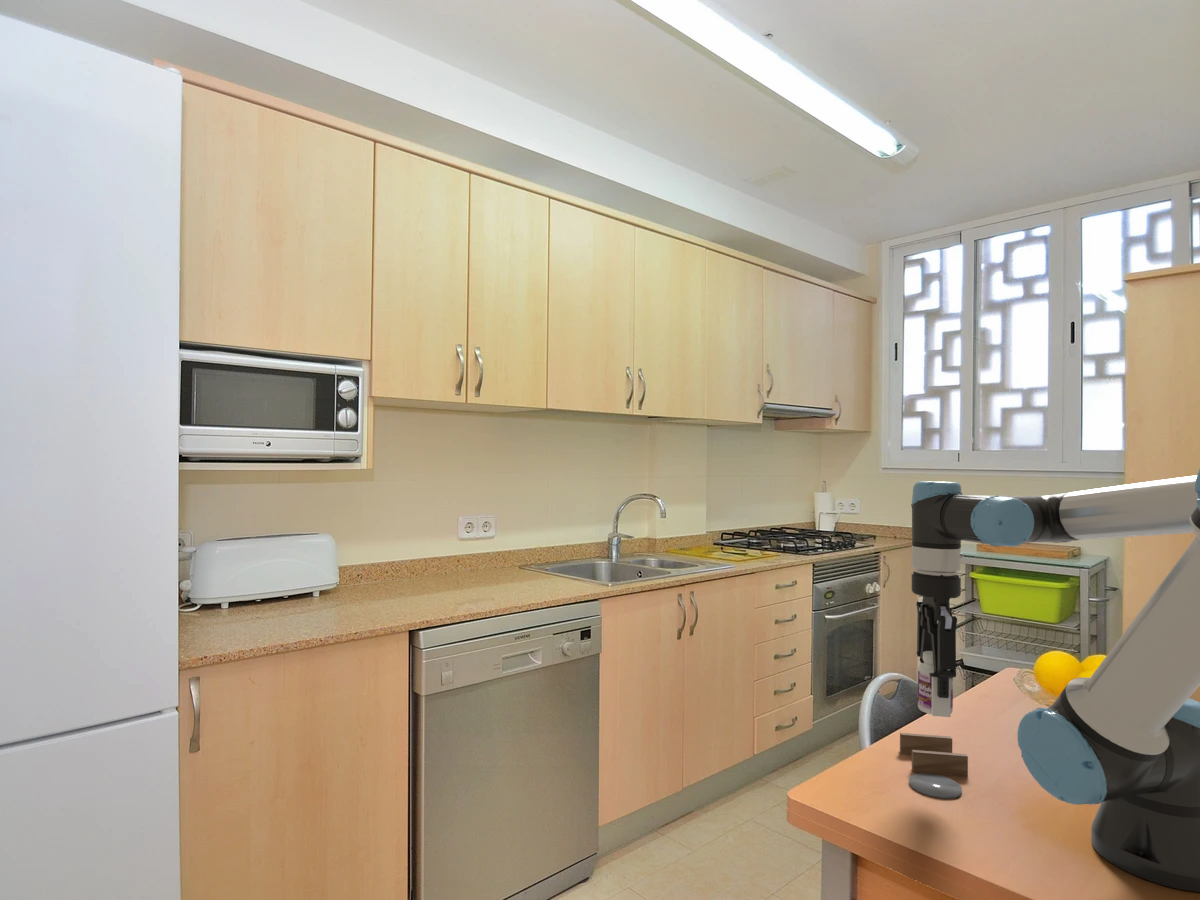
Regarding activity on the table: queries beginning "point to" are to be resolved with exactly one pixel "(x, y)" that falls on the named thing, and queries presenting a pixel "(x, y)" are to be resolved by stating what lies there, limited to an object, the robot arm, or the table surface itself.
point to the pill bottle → (928, 684)
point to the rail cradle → (933, 754)
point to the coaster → (935, 785)
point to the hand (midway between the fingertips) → (935, 709)
